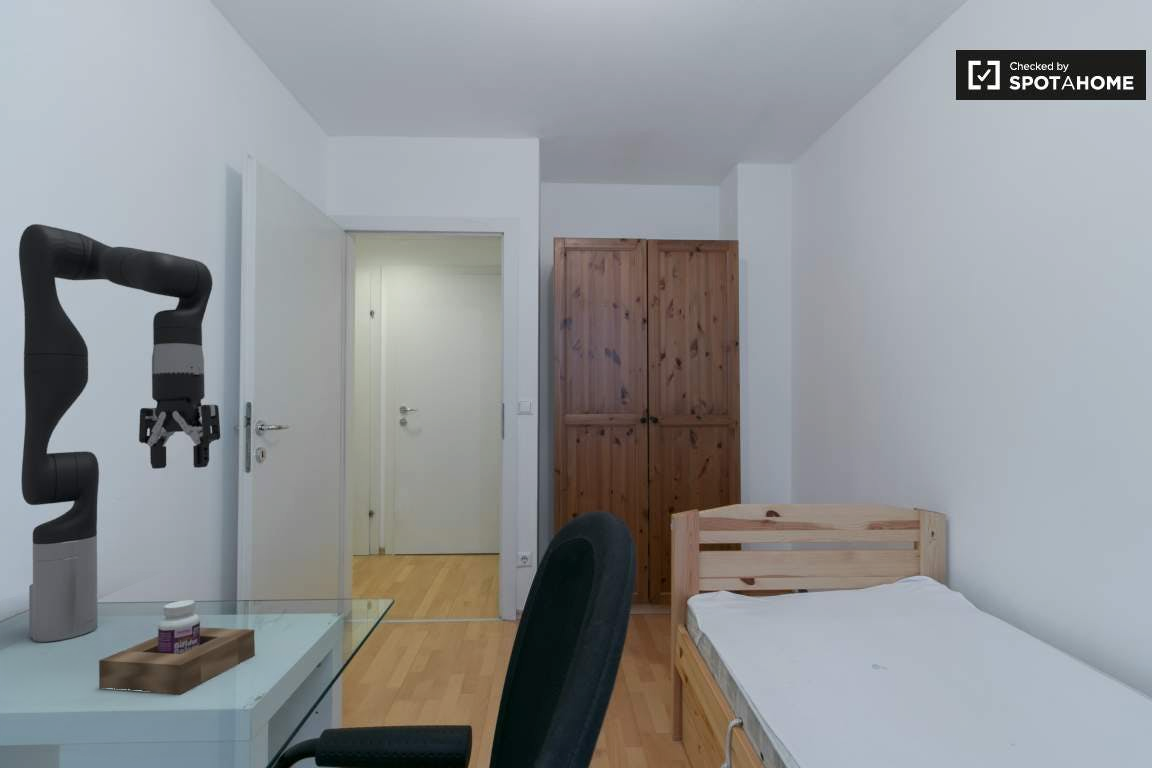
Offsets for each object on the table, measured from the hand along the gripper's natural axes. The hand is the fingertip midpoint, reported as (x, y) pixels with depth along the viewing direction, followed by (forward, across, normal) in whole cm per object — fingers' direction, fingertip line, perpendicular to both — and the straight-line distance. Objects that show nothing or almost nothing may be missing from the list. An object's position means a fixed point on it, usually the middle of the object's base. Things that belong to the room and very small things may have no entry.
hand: (179, 467), depth 105 cm
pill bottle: (+30, +8, -8) cm, 32 cm away
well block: (+30, +8, -8) cm, 32 cm away
